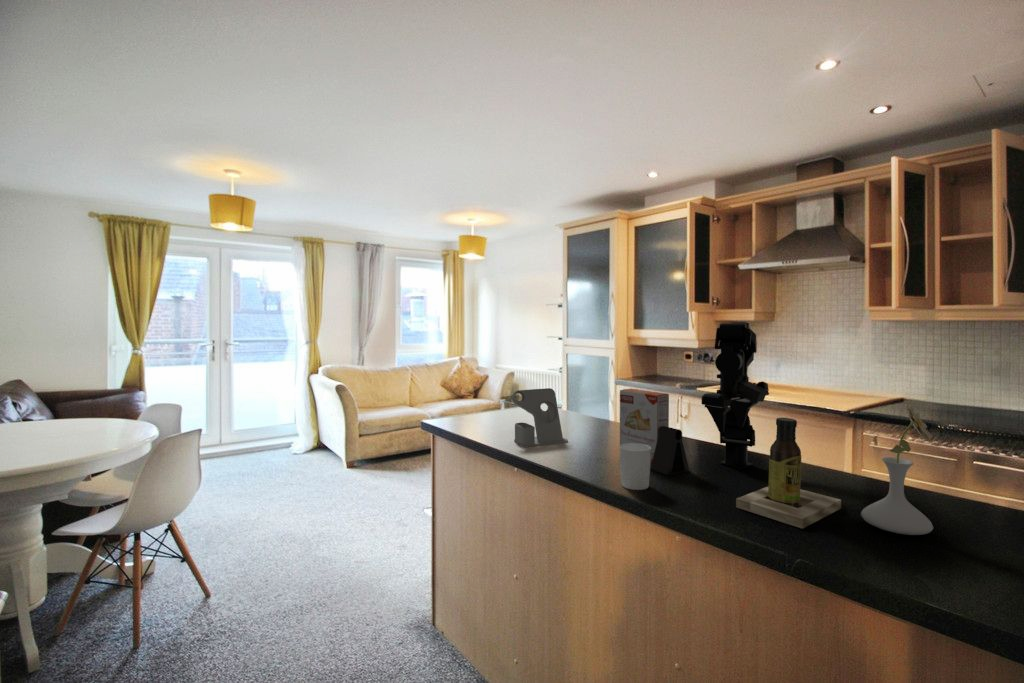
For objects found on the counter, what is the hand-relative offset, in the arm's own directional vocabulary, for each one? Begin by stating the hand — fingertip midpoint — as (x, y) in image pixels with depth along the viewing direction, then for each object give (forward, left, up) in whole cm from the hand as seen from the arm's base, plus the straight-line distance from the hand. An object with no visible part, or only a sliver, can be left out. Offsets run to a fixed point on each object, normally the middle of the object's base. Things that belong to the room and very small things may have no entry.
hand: (731, 429), depth 129 cm
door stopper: (+7, -14, -13) cm, 21 cm away
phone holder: (+16, -61, -13) cm, 65 cm away
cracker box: (+5, -25, -13) cm, 29 cm away
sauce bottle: (+9, +18, -13) cm, 24 cm away
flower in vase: (+2, +37, -13) cm, 39 cm away
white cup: (+25, -11, -13) cm, 30 cm away
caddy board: (+9, +19, -13) cm, 25 cm away
